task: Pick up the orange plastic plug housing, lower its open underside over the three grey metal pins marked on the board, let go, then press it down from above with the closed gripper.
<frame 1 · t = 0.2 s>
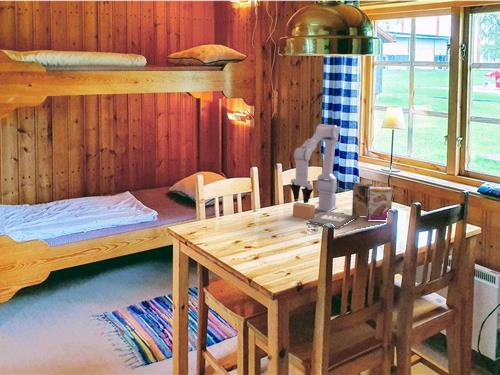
hand: (301, 200, 271), 10 cm above the table, tool pointing down, fingers open, 7 cm apart
candy bar box: (378, 221, 274), on the table
coffee box: (361, 216, 282), on the table
plug housing: (303, 216, 280), on the table
pin board: (332, 220, 274), on the table
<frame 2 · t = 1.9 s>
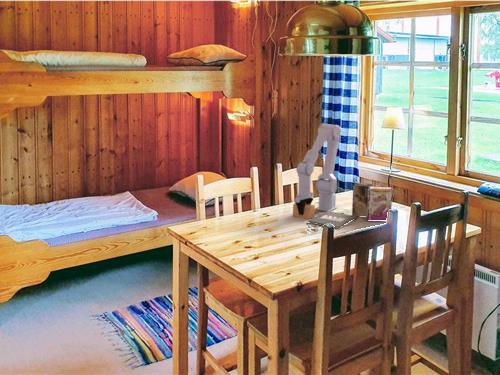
hand: (303, 213, 280), 2 cm above the table, tool pointing down, fingers closed on plug housing, 5 cm apart
plug housing: (303, 216, 280), on the table, touching gripper
everything else where it was.
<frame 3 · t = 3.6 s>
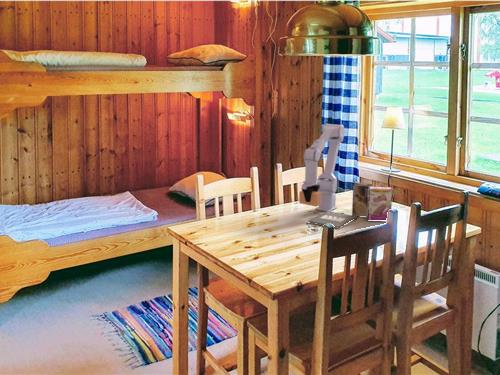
hand: (310, 200, 277), 9 cm above the table, tool pointing down, fingers closed on plug housing, 5 cm apart
plug housing: (310, 203, 277), point 7 cm above the table, touching gripper
everything else where it was.
when the fingers open (5 cm above the table, at t = 5.6 s): plug housing drops 2 cm, resting on pin board.
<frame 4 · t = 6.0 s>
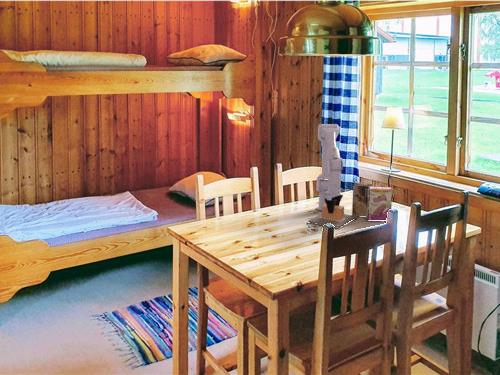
hand: (333, 211, 273), 5 cm above the table, tool pointing down, fingers open, 7 cm apart
plug housing: (332, 218, 273), point 1 cm above the table, touching pin board
everything else where it was.
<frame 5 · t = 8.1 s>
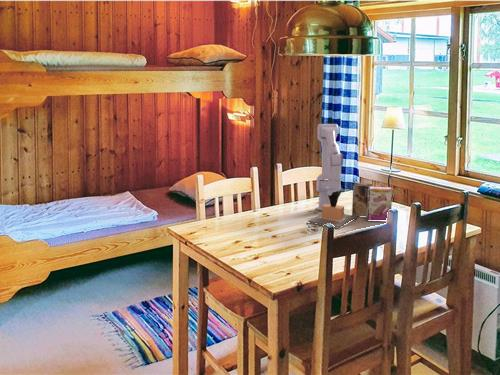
hand: (333, 206, 272), 7 cm above the table, tool pointing down, fingers closed, pressing on plug housing
plug housing: (332, 218, 273), point 1 cm above the table, touching gripper, pin board
everything else where it was.
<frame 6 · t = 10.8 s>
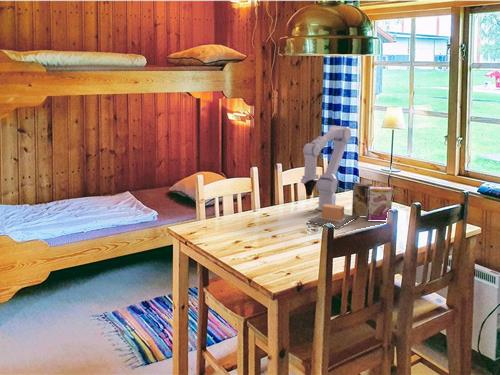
hand: (309, 195, 280), 10 cm above the table, tool pointing down, fingers closed
plug housing: (332, 218, 273), point 1 cm above the table, touching pin board
everything else where it was.
at the end: plug housing 0.2 cm off-centre on the pin board, point 1.2 cm above the pin board's base; plug housing tilted 0°; the gripper is holding nothing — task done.
